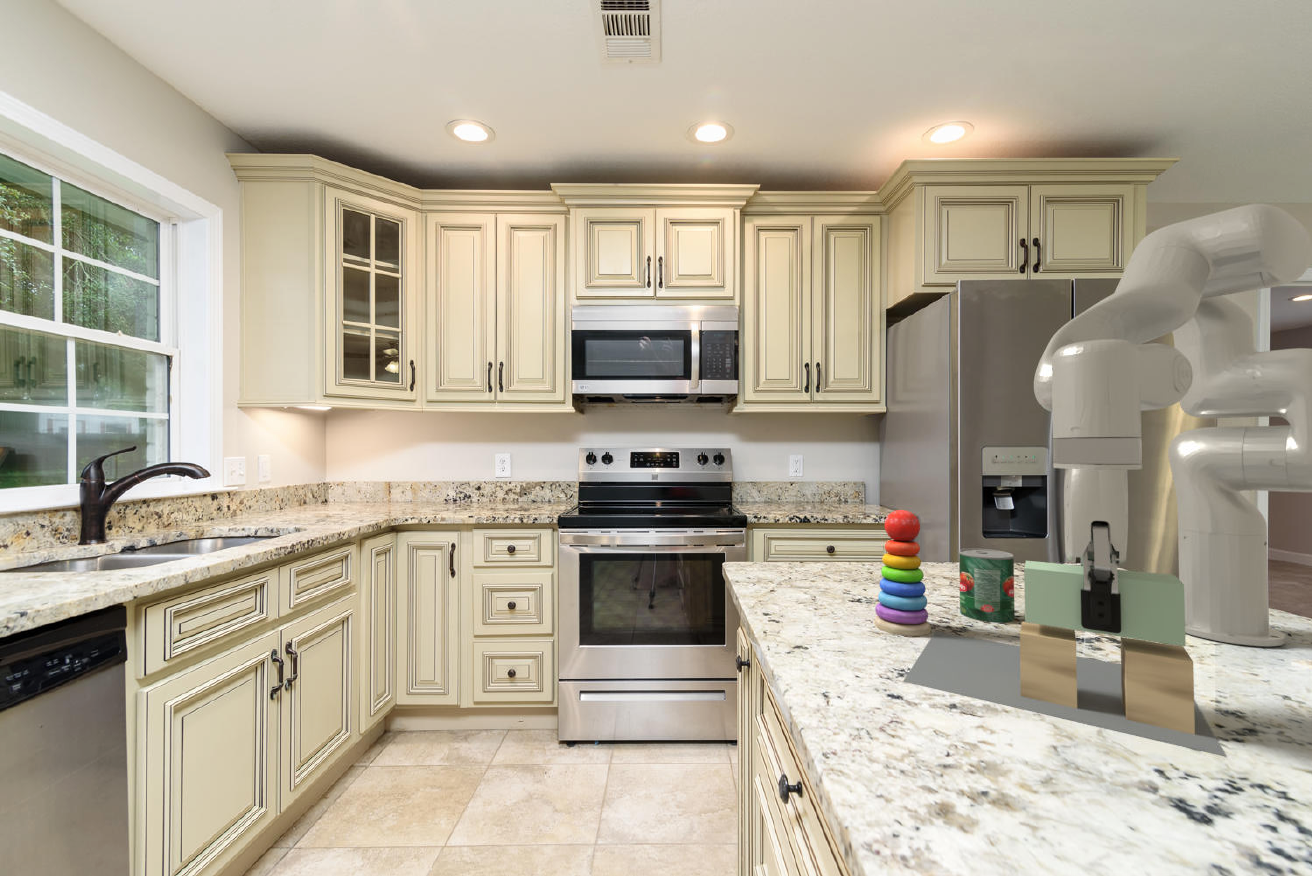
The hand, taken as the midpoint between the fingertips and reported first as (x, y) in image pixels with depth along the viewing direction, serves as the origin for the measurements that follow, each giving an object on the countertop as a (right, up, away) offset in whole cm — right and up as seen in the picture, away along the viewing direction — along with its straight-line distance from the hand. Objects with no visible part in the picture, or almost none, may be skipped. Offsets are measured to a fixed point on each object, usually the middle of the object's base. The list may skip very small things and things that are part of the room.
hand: (1098, 621), depth 59 cm
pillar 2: (+3, -9, -3) cm, 10 cm away
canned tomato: (+7, -11, +32) cm, 34 cm away
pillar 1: (-4, -9, +2) cm, 10 cm away
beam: (0, -1, 0) cm, 1 cm away
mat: (-1, -10, +7) cm, 12 cm away
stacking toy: (-10, -10, +25) cm, 29 cm away
